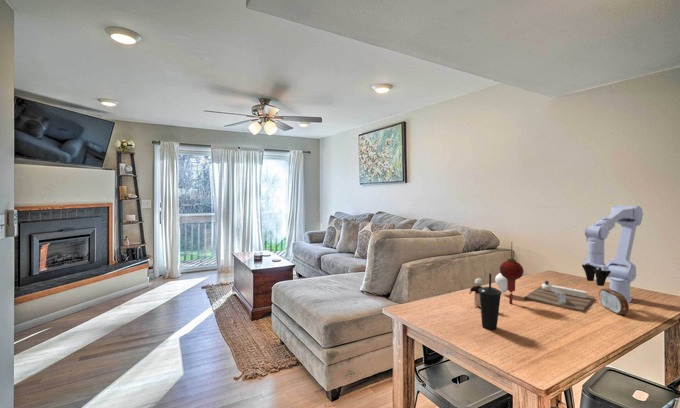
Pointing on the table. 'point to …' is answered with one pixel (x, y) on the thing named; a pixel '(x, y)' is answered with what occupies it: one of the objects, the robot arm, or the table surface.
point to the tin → (614, 301)
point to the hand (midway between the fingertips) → (595, 283)
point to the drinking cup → (489, 306)
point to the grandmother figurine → (477, 292)
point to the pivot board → (551, 299)
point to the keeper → (560, 296)
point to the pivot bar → (566, 290)
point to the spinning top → (501, 282)
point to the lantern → (511, 273)
